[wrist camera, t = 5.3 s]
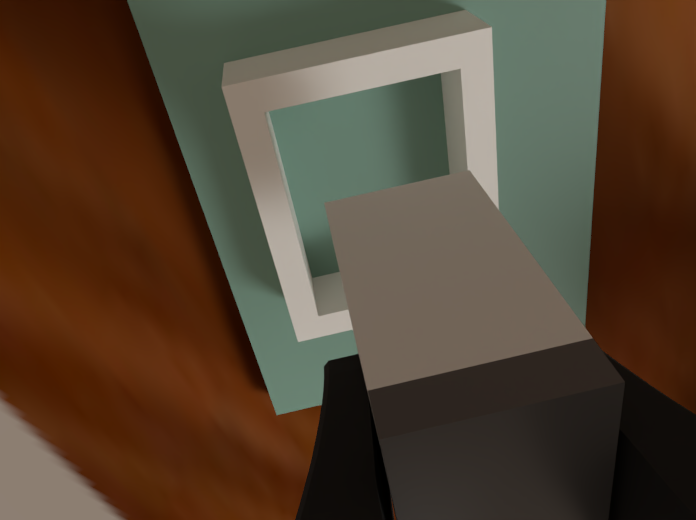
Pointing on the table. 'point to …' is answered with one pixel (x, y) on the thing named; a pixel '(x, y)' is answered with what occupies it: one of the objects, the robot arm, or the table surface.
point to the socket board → (372, 139)
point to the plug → (473, 360)
